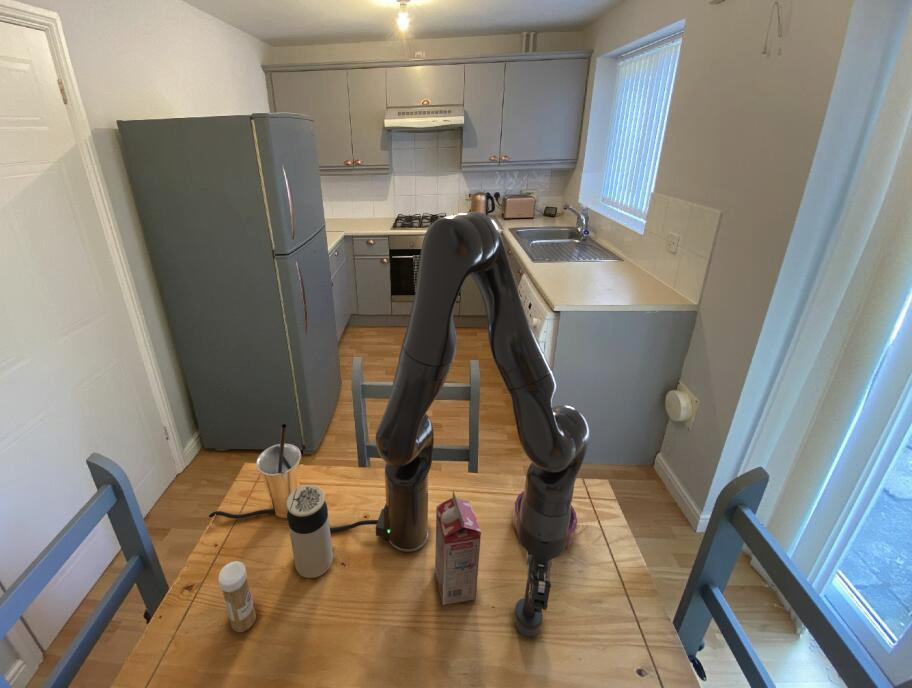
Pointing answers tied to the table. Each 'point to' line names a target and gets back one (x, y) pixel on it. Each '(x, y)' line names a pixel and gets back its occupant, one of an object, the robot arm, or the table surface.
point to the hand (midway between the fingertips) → (533, 586)
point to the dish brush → (527, 615)
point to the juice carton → (456, 550)
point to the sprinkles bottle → (237, 596)
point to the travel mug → (309, 531)
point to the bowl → (571, 525)
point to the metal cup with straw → (280, 472)
